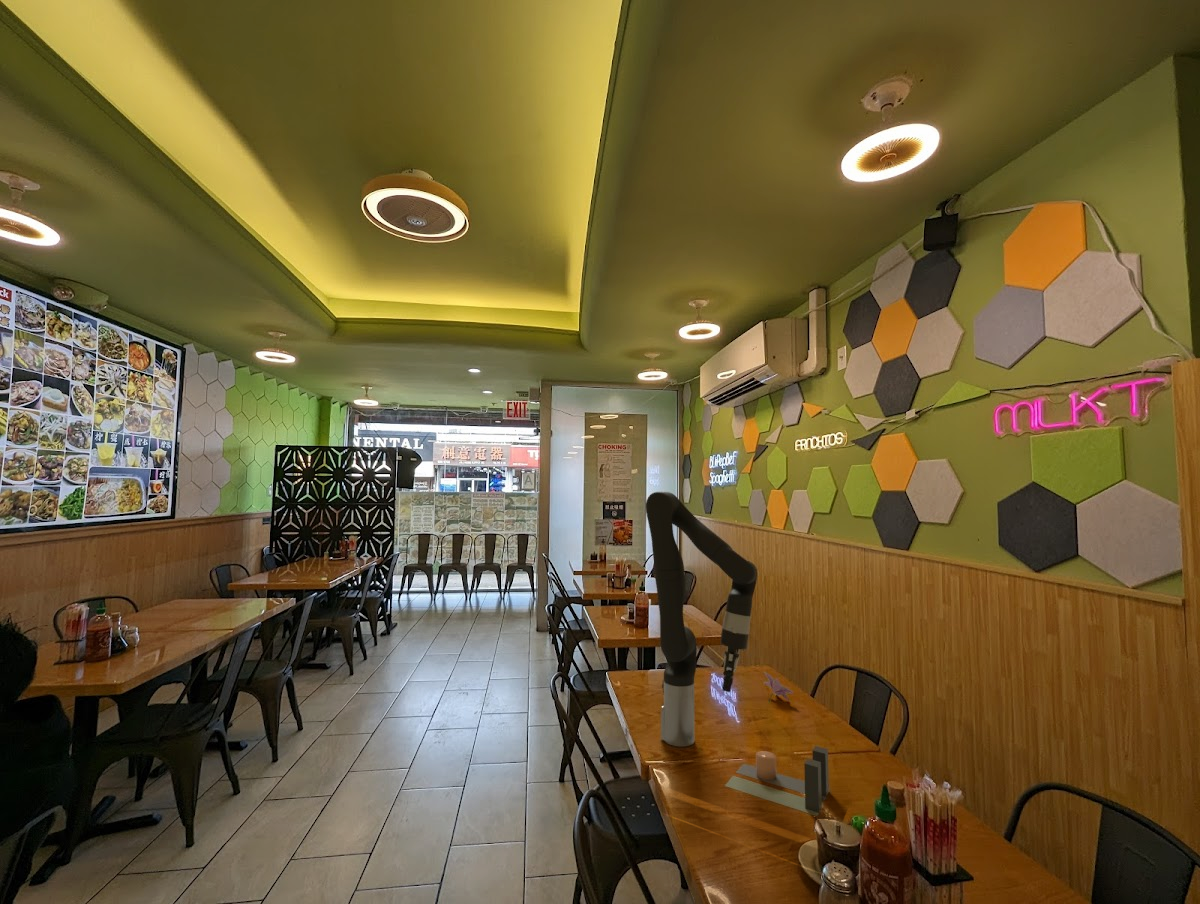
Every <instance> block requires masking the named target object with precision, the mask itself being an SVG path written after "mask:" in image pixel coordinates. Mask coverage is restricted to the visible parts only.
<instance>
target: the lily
mask: <svg viewBox="0 0 1200 904" xmlns="http://www.w3.org/2000/svg"><path fill="white" fill-rule="evenodd" d="M763 673H764V674H765V676H766V678H767V680H768V681H763V682H762V683H763V684H765V685H766V686H768V687H769V688H771V691H772V693H771V694H770V697H769V701H768V704H770V703H771V699H772V696H773V695H774V694H775V696H776V695H777V696H776V697H779V696H781V697H783V698H784V699H785V700H786V701H787V702H789V703H790V699H789V697H788V696H787V695H790V694H794V691H793V690H791V689H789V688H788V687H787V686H785V685H782V684H781V683H782V682H780V680H779V679H778V678H773V676H772V675H770V674H769V673H768V672H766V671H765V670H764V671H763Z"/></svg>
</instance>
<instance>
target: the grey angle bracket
mask: <svg viewBox="0 0 1200 904" xmlns="http://www.w3.org/2000/svg"><path fill="white" fill-rule="evenodd" d="M803 771H804V781H805V794H804V797H803V796H799V795H796V794H793V793H790V792H786V791H783V790H781V789H778V788H775V787H771V786H767V785H764V784H761V783H758V782H754V781H751V780H749V779H745V778H743V777H738V776H735V775H732V777H731V778H730V779H729V780H728V781H727V783H726V784H725V785H724V787H726V788H729V789H732V790H736V791H739V792H741V793H745V794H748V795H751V796H754V797H757V798H760V799H763V800H766V801H769V802H773V803H776V804H779V805H782V806H785V807H788V808H791V809H794V810H796V811H799V812H803V813H807V814H810V815H812V816H816V817H818V816H819V814H820V812H821V810H822V807H823V805H824V803H823V802H822V801H823V799H822V792H821V762H819V761H815V760H813V758H812V759H811V758H808V757H807V759H806V760H805V762H804V770H803Z"/></svg>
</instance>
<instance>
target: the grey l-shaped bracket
mask: <svg viewBox="0 0 1200 904" xmlns="http://www.w3.org/2000/svg"><path fill="white" fill-rule="evenodd" d="M811 754H812V760H815V761H819V762H821V792H822V801H825V800H826V799H827V798H828V797H827V796H828V794H829V792H830V791H831V788H830V782H829V781H830V779H829V778H830V776H829V775H830V774H829V748H825V747H822V746H818V745H814V747H813V749H812V752H811ZM735 773H736V774H739V775H741V776H744V777H749V778H752V779H756V780H758V781H761V782H765V783H767V784H768V783H769V784H772V785H774V786H778V787H781V788H783V789H788V790H791V791H794V792H798V793H801V794H804V795H805V780H802V779H798V778H795V777H791V776H788V775H785V774H781V773H777V772H776V779H775V780H772V781H766V780H762V779H760V778H758V777H757V776H756V765H755V766H754V765H750V764H748V763H743V764H742V765H741V766H740V767H739V768H738V770H737V771H736V772H735Z"/></svg>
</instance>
